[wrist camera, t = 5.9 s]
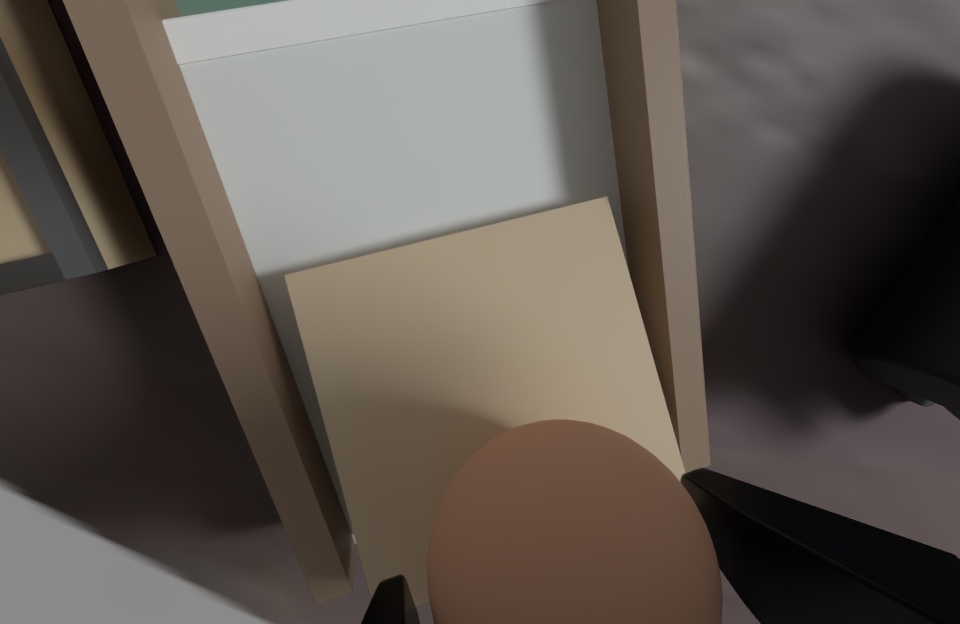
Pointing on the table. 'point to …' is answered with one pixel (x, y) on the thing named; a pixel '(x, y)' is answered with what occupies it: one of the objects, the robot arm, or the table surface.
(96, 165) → the grey framed beige square
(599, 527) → the ball
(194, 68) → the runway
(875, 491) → the table surface
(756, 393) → the table surface
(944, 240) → the end cap
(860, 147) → the table surface
